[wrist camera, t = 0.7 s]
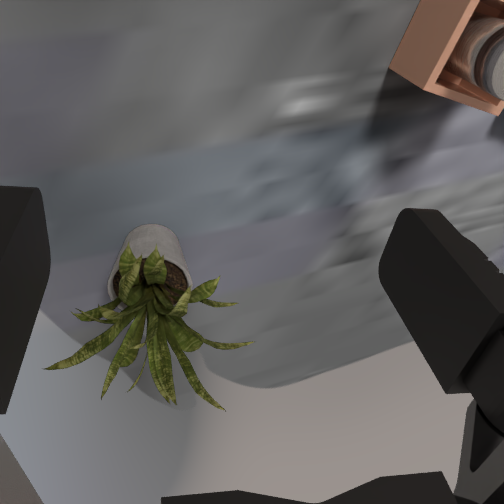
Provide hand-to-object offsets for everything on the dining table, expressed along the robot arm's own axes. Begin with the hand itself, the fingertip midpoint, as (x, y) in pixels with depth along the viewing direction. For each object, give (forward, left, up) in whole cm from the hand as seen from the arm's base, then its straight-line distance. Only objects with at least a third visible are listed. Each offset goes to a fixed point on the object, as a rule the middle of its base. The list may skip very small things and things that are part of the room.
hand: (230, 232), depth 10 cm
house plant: (+20, +3, -27) cm, 34 cm away
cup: (-5, +20, -27) cm, 34 cm away
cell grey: (-5, +20, -26) cm, 34 cm away
